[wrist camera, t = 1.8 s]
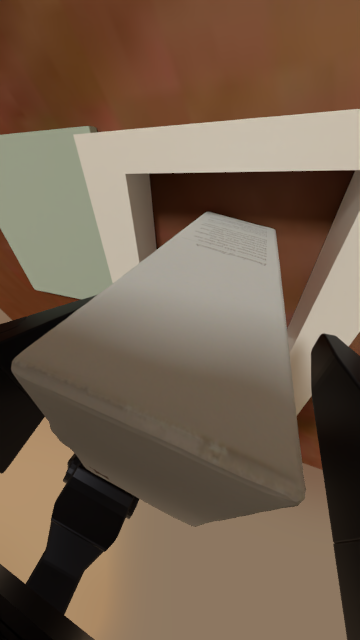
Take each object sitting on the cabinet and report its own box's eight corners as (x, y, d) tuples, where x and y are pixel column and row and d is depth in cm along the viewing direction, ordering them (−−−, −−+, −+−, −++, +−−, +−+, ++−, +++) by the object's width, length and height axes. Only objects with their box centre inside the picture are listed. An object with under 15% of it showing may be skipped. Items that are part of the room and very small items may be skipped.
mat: (133, 305, 18) (130, 309, 18) (39, 287, 22) (34, 289, 21) (96, 127, 11) (88, 126, 10) (-39, 140, 14) (-49, 139, 14)
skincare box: (241, 310, 15) (196, 531, 6) (187, 292, 15) (77, 466, 7) (280, 225, 11) (328, 525, 2) (206, 206, 11) (-16, 360, 3)
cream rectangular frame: (283, 407, 20) (284, 439, 17) (149, 367, 24) (136, 389, 22) (465, 111, 7) (563, 85, 4) (106, 139, 11) (63, 133, 9)
